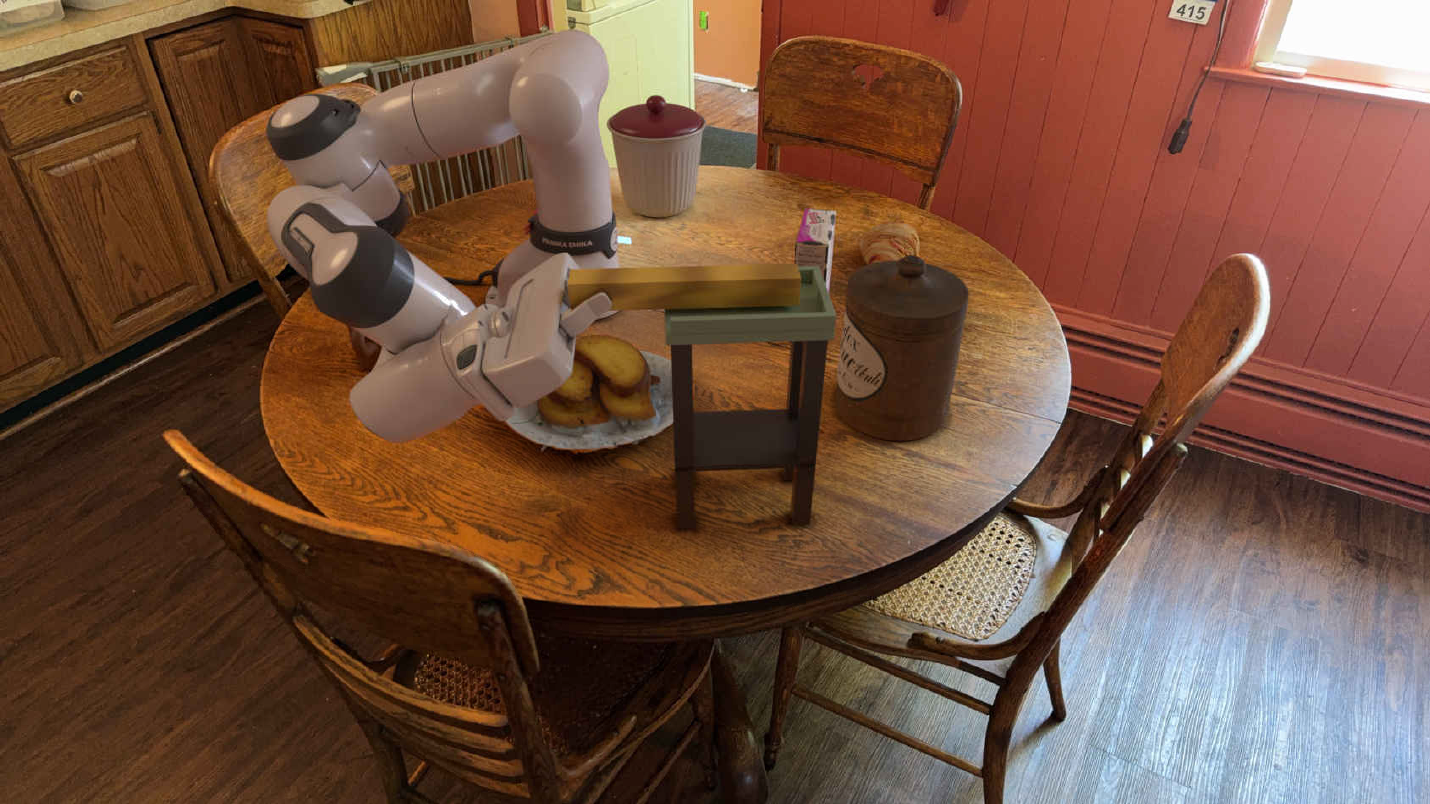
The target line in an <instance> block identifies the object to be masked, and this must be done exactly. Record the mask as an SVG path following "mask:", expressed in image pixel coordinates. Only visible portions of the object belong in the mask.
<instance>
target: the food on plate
mask: <svg viewBox="0 0 1430 804" xmlns="http://www.w3.org/2000/svg"><path fill="white" fill-rule="evenodd" d="M695 388H696V387H695V384H694V383H693V403H694V402H695V399H694V395H696V390H695ZM502 422H503V424H504V425H505V426H508V429H509V430H510V431H511V430H513V433H514V434H516V435H518V436H521V437H523V438H524V439H526V440H527V441H531V442H533V443H534V444H536V445H537V444H538V445H542V447H541V451H540V452H543V451H545V449H546V448H547V447H551V448H553V449H555V450H559V451H564V450H567V451H571V452H572V453H574V454H575V455H577V454H578V453H584V454H587V453H591V452H597V451H600V450H603V449H610V450H611V449H612V450H614V449H618V448H619V447H618V446H624V445H628V444H629V445H630V444H632V445H638V444H639V442H642V441H643V440H644V439H647V438H649V436H651V437H654V436H656V435H659V434H661V433H662V432H663V431H664V430H665V429H666V428H667V427H670V426H672V425H673V401H672V371H671V358H666V356H662V355H660V354H657V353H654V352H649V351H647V350H644V349H638V348H637V347H636V346H634V345H633V344H632V343H630V342H629V341H627V340H624V339H621V338H619V337H614V336H612V335H607V334H590V335H585V336H581V337H580V338H576V344H575V353H574V361H573V369H572V374H571V376H570V377H569V378H568V379H567V380H566V381H565V382H564V383H563V384H562V385H561V386H560V387H559V388H557V389H556V390H554V391H553V392H551V393H549V394H548V395H546V396H544V397H542V398H541V399H539V400H537V401H535V402H533V403H531V404H530V405H527V406H525V407H522V408H518V411H517V413H516V414H515V415H514V416H512V417H510V418H509V419H507V420H505V421H502ZM575 459H578V458H577V457H575Z"/></svg>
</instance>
